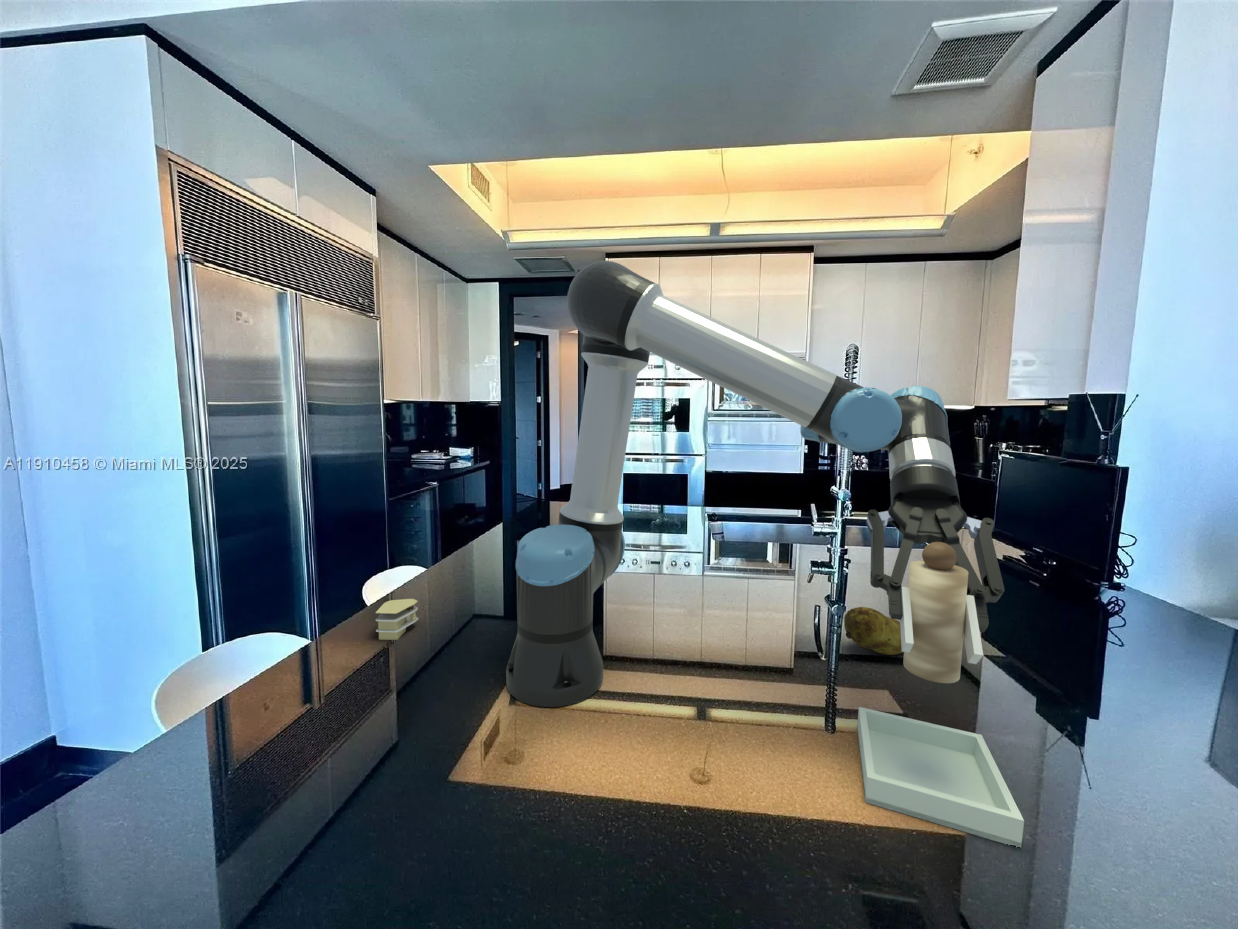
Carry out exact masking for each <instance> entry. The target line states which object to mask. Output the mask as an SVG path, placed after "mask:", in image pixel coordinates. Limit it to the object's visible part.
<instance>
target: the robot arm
mask: <svg viewBox="0 0 1238 929" xmlns="http://www.w3.org/2000/svg"><path fill="white" fill-rule="evenodd" d="M662 290H663V289H662V287H661V286H660V284H658V283H657V282H654V281H651V280H650V279H648V278H645V277H643V276H642V275H640V274H638V273H637V272H634V271H633V270H631V269H629V268H628V267H626V266H625V265H623V264H621V263H619V262H615V261H613V260H599V261H594V262H592V263H590V264H588V265H586V266H584V267H583V268H582V269H580V270H579V271H578V272H577V274H575V276H574V277H573V279H572V280H571V283H570V284H569V288H568V290H567V297H566V304H567V305H566V306H567V312H568V315H569V317H570V320H571V322H572V323H573V324H574V326H575V327H576V329H577V330H578V331H579V332H580V334H582V335H583V338H582V344H581V350H580V351H581V353H580V355H581V357H582V358H583V360H584V361H585V363H586V364H587V367H588V368H587V374H586V375H587V376H586V382H585V388H584V395H583V397H584V398H583V402H582V403H583V404H582V409H581V410H582V411H581V418H580V425H579V432H578V440H577V446H576V452H575V453H576V454H575V462H574V468H573V475H572V476H573V477H572V483H571V490H570V497H569V498H570V499H569V501H567V502H566V503H565V504H563V505H562V506H560V508H559V514H558V520H557V521H558V522H557V524H553V525H547V526H545V527H539V528H536V529H533V530H531V531H529V532H528V533H526V534H525V535H524V536H522V538H521V539H520V541H519V542H518V546H517V549H516V550H517V552H516V559H515V571H516V614H517V615H516V616H517V617H516V618H517V633H516V638H515V641H514V644H513V646H512V650H511V652H510V656H509V658H508V661H507V665H506V670H505V678H506V680H505V681H506V682H505V683H506V688H507V690H508V692H509V694H510V695H511V696H513V698H515V699H517V700H518V701H520V702H522V703H524V704H527V705H530V706H536V707H543V708H553V707H554V708H555V707H564V706H565V707H566V706H569V705H574V704H576V703H579V702H581V701H584V700H586V699H588V698H590V697H591V696H593V695H594V694H595V693H596V692H597V691H598V690H599V689H600V688H601V686H602V684H603V682H604V661H603V658H602V656H601V652H600V649H599V646H598V642H597V639H596V637H595V636H596V635H595V634H594V631H593V623H594V622H593V619H594V618H593V617H594V614H593V613H594V610H593V609H594V608H593V607H594V593H595V592H596V591H597V590H598V589H599V588H600V586H602V585H603V583H604V582H606V580H607V579H608V578H609V577H611V576H612V575H613V574H615V572H616V570H618V568H619V565H620V564H621V563H622V560H623V559H624V554H625V550H626V542H625V541H626V540H625V536H624V534H623V526H624V517H625V516H624V515H623V513H622V512H621V511H620V510H619V508H618V504H619V498H620V496H619V495H620V491H621V484H622V478H623V472H624V465H625V458H626V450H627V444H628V441H629V440H628V438H629V434H630V433H629V432H630V426H631V420H632V412H633V405H634V400H635V394H636V387H637V380H638V375H639V373H640V372H641V371H642V370H644V369H645V368H646V367H647V366H648V365H649V361H650V355H651V354H653V355H655V356H657V357H659V358H661V359H664V360H665V361H667V362H669V363H671V364H673V365H675V366H678V367H680V368H682V369H684V370H686V371H688V372H690V373H692V374H694V375H696V376H699V377H701V378H702V379H704V380H706V381H708V382H710V383H713V384H715V385H717V386H719V387H722V388H723V389H726V390H727V391H729V392H731V393H733V394H736V395H738V396H740V397H741V398H744V399H746V400H748V401H750V402H752V403H754V404H756V405H759V406H761V407H762V408H764V409H766V410H768V411H771V412H773V413H775V414H777V415H779V416H781V417H784V418H785V419H788V421H789V420H790V421H792V422H794V423H795V424H798V425H800V428H799V430H800V431H799V432H800V436H801V437H802V438H803V439H804V440H808V441H814V442H817V443H823V444H824V443H826V444H827V443H829V444H834V445H838V446H841V447H843V448H845V449H847V450H848V451H851V452H854V453H867V452H874V451H877V450H885V451H887V458H888V468H889V479H890V480H889V481H890V483H889V487H890V488H889V489H890V506H889V508H888V510H885V511H880V512H879V511H877V510H876V509H870V510H868V511H867V516H866V521H865V522H866V523H865V524H866V527H867V529H868V531H869V533H870V576H869V577H870V586H872V587H873V588H875V589H878V588H880V589H882V590H883V591H885V593H886V595H887V597H888V598H887V599H888V615H889V617H890V618H891V619H895V620H897V621H899V622H900V631H901V647H902V653H904V652H908V653H910V651H911V649H912V647H913V644H914V641H913V628H912V615H911V601H910V592H909V588H908V587H907V586H906V587H905V586H902V583H903V580H904V577H905V573H906V570H907V566H908V563H909V560H910V557H911V554H912V549H913V548H914V544H918V545H919V544H930V543H933V542H943V543H946V544H948V545H949V546H951V547H952V548H953V549H954V551H955V552H956V555H957V561H956V564H955V565H956V566H959V567H962V568H964V569H966V570H967V571H968V584H967V596H966V609H965V621H964V633H963V641H964V646H965V652H966V659H967V660H966V661H967V664H974V665H977V664H978V663H979V662H980V661H981V659H982V658H983V657H984V651H983V644H982V638H981V633H985V632H986V631H987V629H988V627H989V625H990V622H989V621H990V620H989V615H988V607H987V603H990V604H991V603H992V604H995V603H998V601H999V600H1000V599H1001V597H1002V595H1003V594H1004V592H1005V585H1004V581H1003V577H1002V574H1001V573H1002V572H1001V570H1000V565H999V562H998V556H997V552H996V549H995V545H994V541H993V537H992V536H993V535H992V533H993V531H994V528H995V521H994V520H993V519H992V518H990V517H984V518H982V520H980V519H976V518H973V517H970V516H968V515H967V513H966V512H965V511H964V509H963V508H962V506H961V501H960V494H959V488H958V487H959V486H958V481H957V478H956V469H955V464H954V457H953V453H952V447H951V441H950V435H949V427H948V422H949V421H948V414H947V411H946V408H945V406H944V405H945V404H944V402H943V399H942V398H941V396H940V394H939V393H938V392H937V391H936V390H934V389H932V388H929V387H927V386H923V385H912V386H910V387H906V388H905V387H903V388H900V389H897V390H895V392H893V393H891V394H889V393H887V392H885V391H884V390H880V389H878V388H875V387H867V386H865V387H864V386H862V385H860V384H858V383H856V382H853V381H851V380H849V379H846V378H844V377H842V376H839V375H837V374H836V373H834V372H831V371H829V370H827V369H825V368H823V367H820V366H818V365H817V364H814V363H812V362H809V361H807V360H806V359H803V358H801V357H799V356H797V355H794V354H792V353H790V352H787V351H785V350H783V349H781V348H779V347H777V346H775V345H772V344H770V343H768V342H766V341H763V340H761V339H759V338H757V337H755V336H752V335H751V334H749V333H746V332H744V331H742V330H740V329H737V328H736V327H733V326H732V325H729V324H727V323H724V322H722V321H720V320H718V319H715V318H713V317H711V316H709V315H707V314H705V313H704V312H703V313H702V312H700V311H698V310H696V309H694V308H692V307H689V306H688V305H685V304H683V303H681V302H679V301H676V300H674V299H672V298H669V297H668V296H665V295H664V293H663V291H662ZM650 353H651V354H650ZM889 522H890V523H891V524H892V525H893V526H894V527H895V528H896V529H897V530H898V532H899V533H900V534H902V536H903V537H902V540H901V544H900V547H899V549H898V553H897V556H896V559H895V562H894V566H893V569H892V572H891V575H887V574H886V573H885V529H886V528H887V527H888V526H887V525H888V523H889ZM963 528H965V529H966V530H967V531H968V534H969V537H970V539H974V540H973V548H974V552H975V557H976V562H977V568H978V572H979V575H980V576H979V577H980V578H979V577H978V575H977V573H976V571H975V569H974V566H972V563H971V562H970V559H969V558H968V555H967V554H966V551H965V550H964V547H963V546H962V544H961V542H960V536H959V535H958V533H959V532H960V531H961V530H962V529H963ZM980 580H981V581H980Z"/></svg>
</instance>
